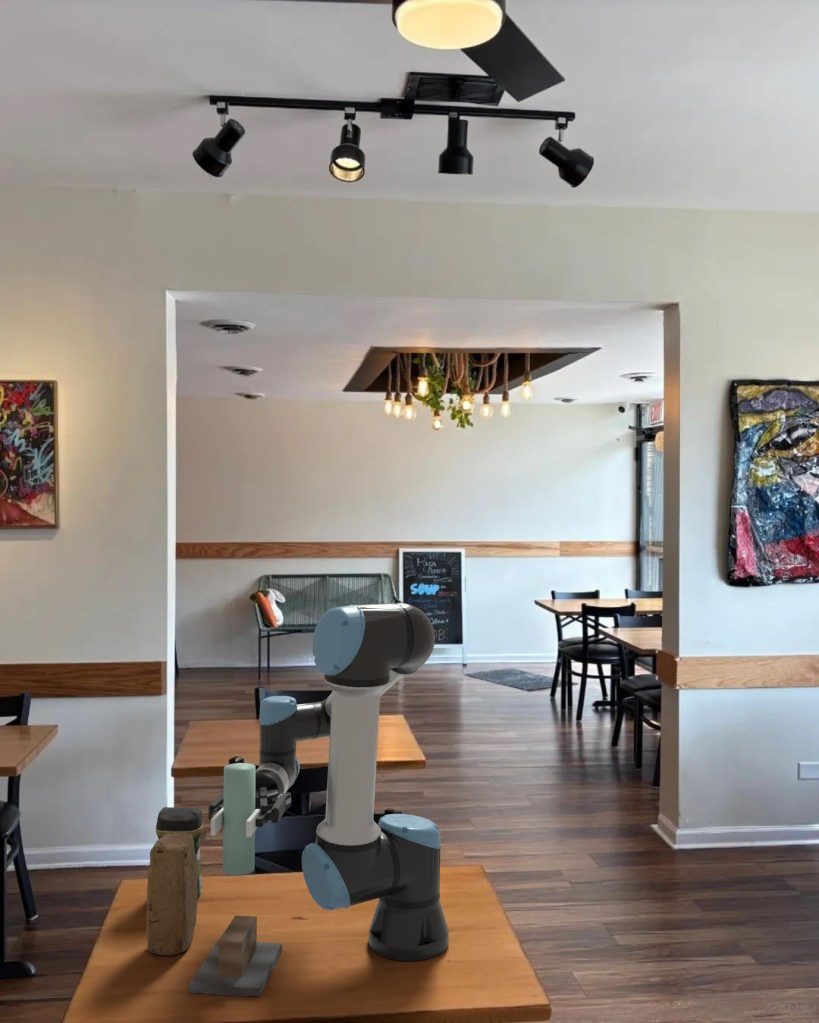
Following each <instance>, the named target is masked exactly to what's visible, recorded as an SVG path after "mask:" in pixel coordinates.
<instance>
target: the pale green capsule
mask: <svg viewBox="0 0 819 1023" xmlns="http://www.w3.org/2000/svg"><path fill="white" fill-rule="evenodd" d="M255 770H257V769H256V765H255V764H252V763H247V762H244V763H243V762H237V763H230V764H226V765H225V766H224V767H223V790H224V805H223V827H222V832H223V833H222V837H223V838H222V872H223V873H224V875H228V876H233V877H234V876H238V877H239V876H245V875H248V874H250V873H253V872H254V871H255V866H256V865H255V863H256V862H255V859H256V858H255V852H256V851H255V850H256V849H255V847H256V840H255V839H256V831H255V832H254V833H253V834H252V836H251V837H246V821H247V820H248V818H249V817H250V816H251V815H252V813H253V812H254V811H255Z"/></svg>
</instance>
